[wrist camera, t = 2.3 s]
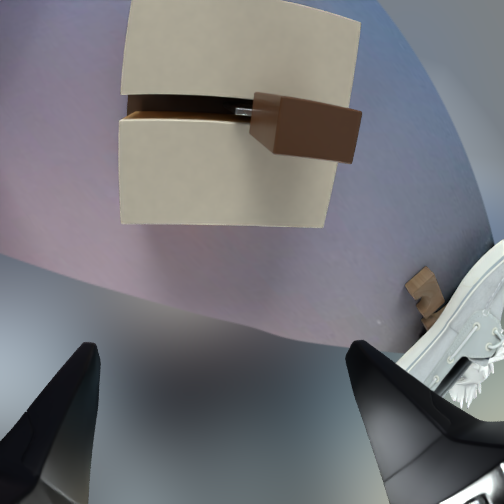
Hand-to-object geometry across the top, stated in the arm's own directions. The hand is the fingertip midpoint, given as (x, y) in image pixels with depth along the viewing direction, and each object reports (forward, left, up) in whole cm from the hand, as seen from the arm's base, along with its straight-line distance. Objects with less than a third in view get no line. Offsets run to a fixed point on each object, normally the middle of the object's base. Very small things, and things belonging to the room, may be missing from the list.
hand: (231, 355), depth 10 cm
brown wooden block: (+3, +7, -12) cm, 14 cm away
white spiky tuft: (+35, -20, -11) cm, 42 cm away
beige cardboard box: (+1, +7, -13) cm, 15 cm away
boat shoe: (+28, -12, -11) cm, 33 cm away
